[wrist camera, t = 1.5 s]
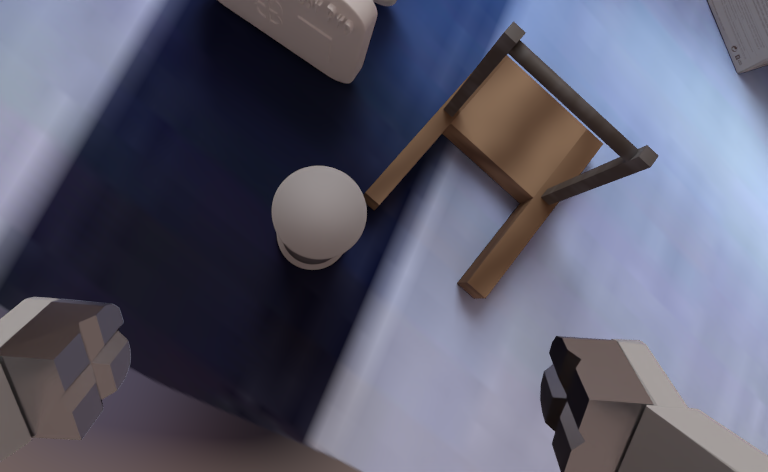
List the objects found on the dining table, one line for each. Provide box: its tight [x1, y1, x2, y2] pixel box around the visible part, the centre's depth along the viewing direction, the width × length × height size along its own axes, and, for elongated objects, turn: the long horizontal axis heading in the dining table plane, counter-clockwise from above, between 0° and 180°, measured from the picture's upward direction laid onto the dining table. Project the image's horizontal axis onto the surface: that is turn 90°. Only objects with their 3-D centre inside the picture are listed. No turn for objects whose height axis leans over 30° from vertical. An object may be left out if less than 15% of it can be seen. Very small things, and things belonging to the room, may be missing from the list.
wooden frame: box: [363, 22, 658, 299], centre depth 36 cm, size 13×18×14 cm
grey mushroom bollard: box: [272, 166, 367, 270], centre depth 35 cm, size 6×6×11 cm
